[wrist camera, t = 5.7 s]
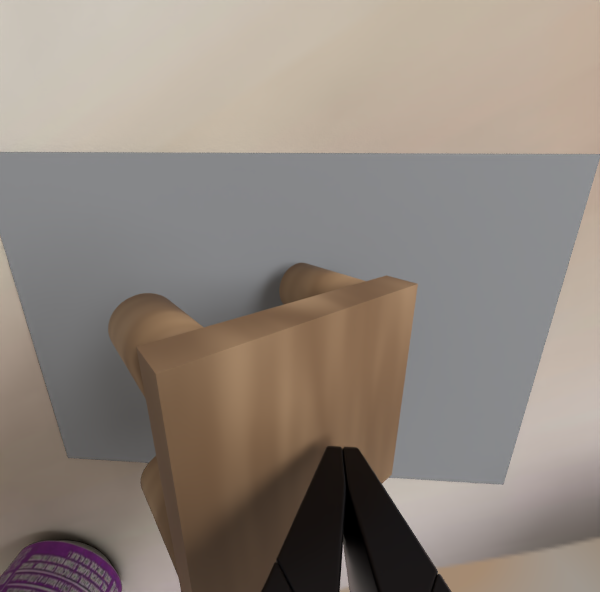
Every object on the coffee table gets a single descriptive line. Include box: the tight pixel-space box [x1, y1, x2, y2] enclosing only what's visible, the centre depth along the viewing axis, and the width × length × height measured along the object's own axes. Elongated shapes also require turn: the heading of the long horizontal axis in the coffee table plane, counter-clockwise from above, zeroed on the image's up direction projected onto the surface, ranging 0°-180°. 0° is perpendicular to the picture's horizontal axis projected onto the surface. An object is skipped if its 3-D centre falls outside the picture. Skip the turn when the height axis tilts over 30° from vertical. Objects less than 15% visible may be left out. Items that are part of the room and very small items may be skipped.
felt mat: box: [0, 152, 600, 484], centre depth 15 cm, size 24×16×1 cm, turn 90°
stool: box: [108, 263, 418, 592], centre depth 11 cm, size 5×8×8 cm
